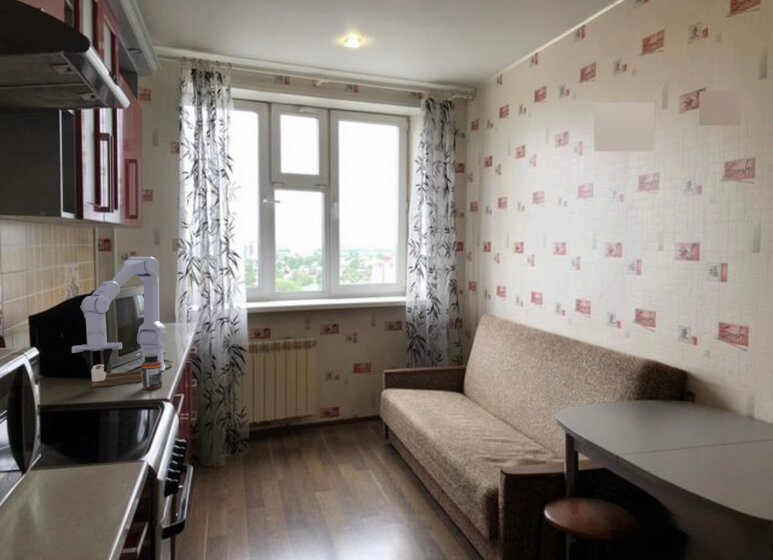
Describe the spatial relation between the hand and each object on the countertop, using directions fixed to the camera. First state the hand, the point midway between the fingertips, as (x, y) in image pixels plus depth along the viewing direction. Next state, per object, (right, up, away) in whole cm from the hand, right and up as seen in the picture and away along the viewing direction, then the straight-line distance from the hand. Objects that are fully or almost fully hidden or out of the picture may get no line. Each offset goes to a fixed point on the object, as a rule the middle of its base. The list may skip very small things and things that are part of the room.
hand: (98, 371), depth 171 cm
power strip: (0, -2, 0) cm, 2 cm away
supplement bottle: (+17, -6, +2) cm, 18 cm away
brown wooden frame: (+2, -5, +9) cm, 11 cm away
